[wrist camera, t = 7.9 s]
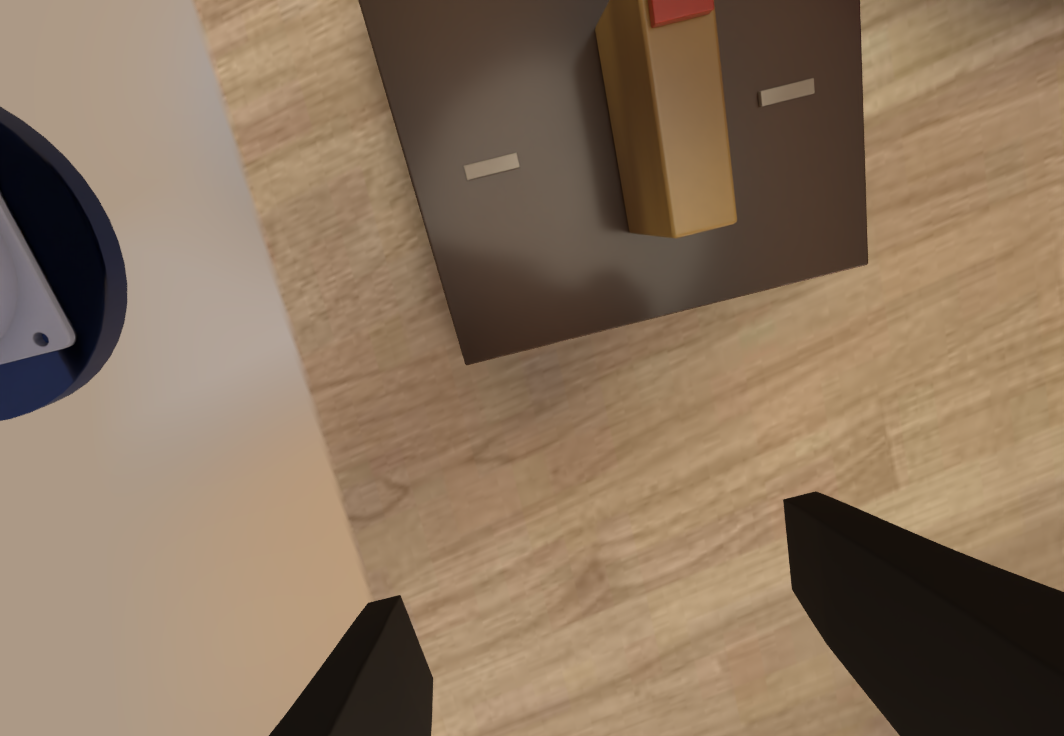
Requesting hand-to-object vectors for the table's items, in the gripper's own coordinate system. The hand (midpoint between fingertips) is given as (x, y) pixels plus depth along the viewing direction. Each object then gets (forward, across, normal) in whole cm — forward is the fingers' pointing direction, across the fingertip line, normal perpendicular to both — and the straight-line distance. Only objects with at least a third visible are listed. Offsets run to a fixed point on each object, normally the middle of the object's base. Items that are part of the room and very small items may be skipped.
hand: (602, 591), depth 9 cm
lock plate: (+9, -4, -8) cm, 13 cm away
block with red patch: (+6, -4, -8) cm, 11 cm away
